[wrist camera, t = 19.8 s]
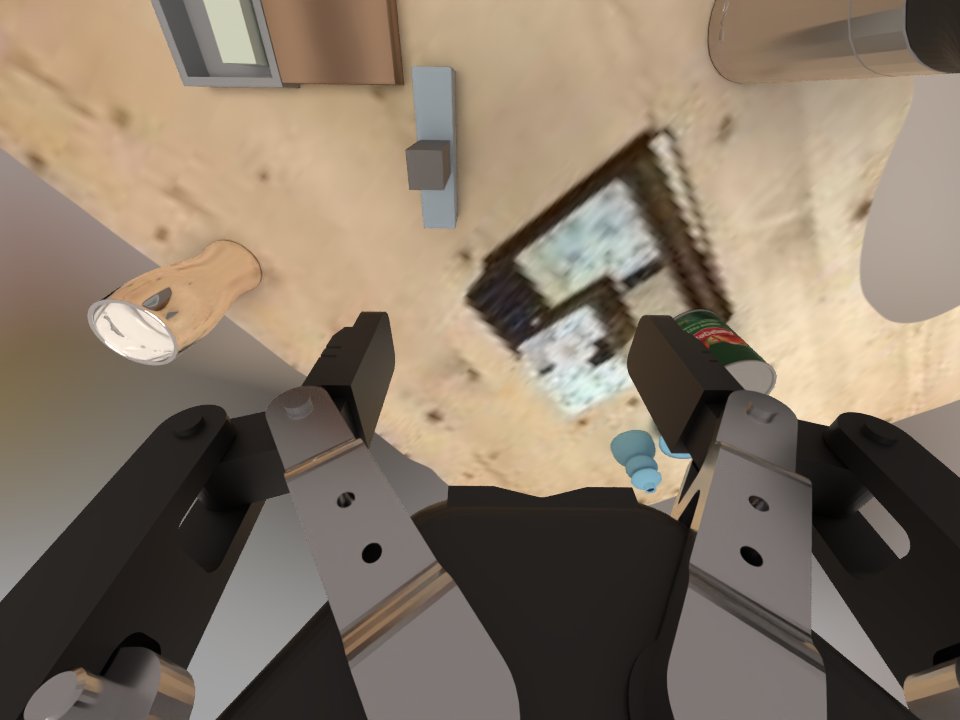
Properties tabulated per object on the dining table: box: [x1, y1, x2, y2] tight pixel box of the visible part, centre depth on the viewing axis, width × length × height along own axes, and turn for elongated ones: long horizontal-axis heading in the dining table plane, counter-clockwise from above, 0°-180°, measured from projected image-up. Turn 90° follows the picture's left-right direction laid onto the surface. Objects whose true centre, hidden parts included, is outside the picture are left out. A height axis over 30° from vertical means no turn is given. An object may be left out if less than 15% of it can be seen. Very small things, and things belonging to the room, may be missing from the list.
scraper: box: [406, 66, 458, 228], centre depth 30 cm, size 3×12×12 cm, turn 179°
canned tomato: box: [674, 309, 776, 395], centre depth 43 cm, size 8×8×11 cm
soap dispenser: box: [611, 430, 692, 493], centre depth 54 cm, size 18×10×9 cm, turn 136°
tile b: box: [203, 0, 270, 67], centre depth 27 cm, size 4×4×2 cm
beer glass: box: [88, 240, 261, 365], centre depth 35 cm, size 7×7×15 cm
